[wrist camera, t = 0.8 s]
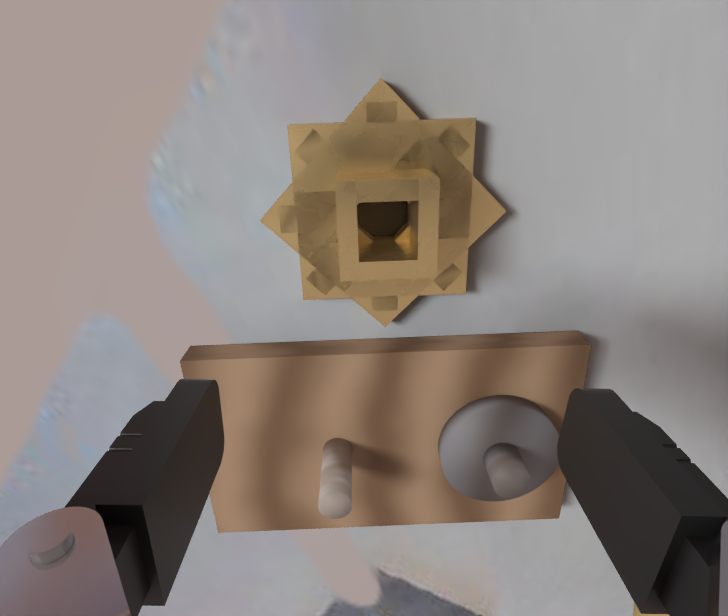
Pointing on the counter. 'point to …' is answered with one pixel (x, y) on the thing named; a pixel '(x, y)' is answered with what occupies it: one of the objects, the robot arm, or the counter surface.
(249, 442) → the wooden peg board
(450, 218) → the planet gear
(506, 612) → the counter surface
